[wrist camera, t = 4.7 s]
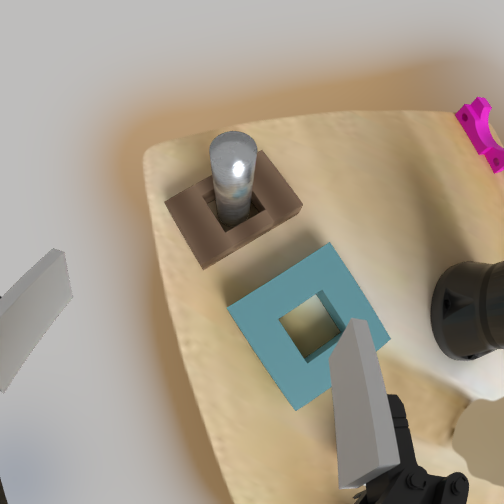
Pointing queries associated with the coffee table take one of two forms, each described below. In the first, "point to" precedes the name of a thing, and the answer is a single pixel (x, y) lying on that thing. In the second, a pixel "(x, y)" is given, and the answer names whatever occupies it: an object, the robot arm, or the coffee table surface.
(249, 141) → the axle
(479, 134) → the magenta curved bracket
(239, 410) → the coffee table surface
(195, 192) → the brown rectangular frame
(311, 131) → the coffee table surface
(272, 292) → the seat block
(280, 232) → the coffee table surface
